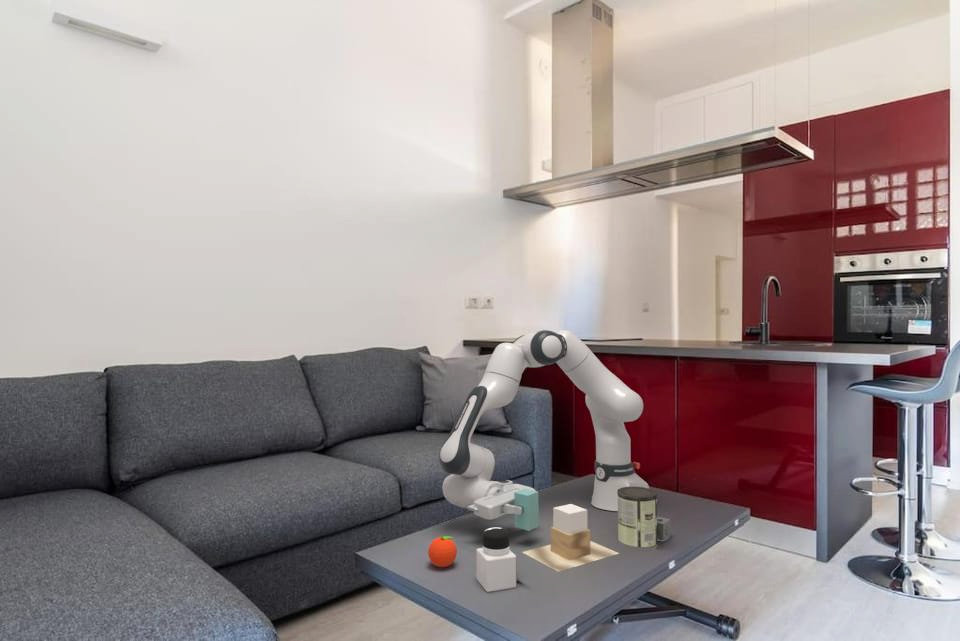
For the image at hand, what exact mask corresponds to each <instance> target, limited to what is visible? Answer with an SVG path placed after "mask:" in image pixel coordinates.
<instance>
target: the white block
mask: <svg viewBox="0 0 960 641" xmlns="http://www.w3.org/2000/svg"><path fill="white" fill-rule="evenodd" d="M552 509H553V510H552V511H553V512H552V513H553V515H552V518H553V520H552V521H553V522H552V527H553V528H556V529H558V530H560V531H562V532H564V533H567V534H569V535H570V534H574V533H578V532H582V531H585V530H587V529H588V509H587V508H583V507H581V506H578V505H575V504H573V503H569V504H565V505H559V506H555V507H553V508H552Z"/></svg>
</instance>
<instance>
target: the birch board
mask: <svg viewBox="0 0 960 641" xmlns="http://www.w3.org/2000/svg"><path fill="white" fill-rule="evenodd" d="M521 553H522V554H524V555H526V556H528V557H530V558H532V559H533V560H535V561H537V562H539V563H541V564H543V565H544V566H546V567H548V568H550V569H552V570H554V571H556V572H558V573H560V572H562V571H566V570H570V569H572V568H573V569H574V568H576V567H579V566H582V565H586V564H589V563H593V562H595V561H600V560H602V559H606V558H609V557H613V556H615V555H619V554H620V553H619V552H617V551H616V550H615V551H614V550H613V549H610V548H607V547H605V546H604V545H601V544H600V543H596V542H595V541H592V540H590V555H586V556H583V557H580V558H576V559H573V560H567V559H565V558H563V557H561V556H559V555H557V554H555V553H553V552H551V544H547V545H543V546H540V547H536V548H532V549H529V550H524V551H521Z"/></svg>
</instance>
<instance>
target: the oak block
mask: <svg viewBox="0 0 960 641" xmlns="http://www.w3.org/2000/svg"><path fill="white" fill-rule="evenodd" d="M590 541H591V530H590V529H589V528H587V530H585V531H582V532H578V533H574V534H570V535H569V534H567V533H564V532H562V531H560V530H558V529H556V528H553V526H551V527H550V545H551V552H553V553H555V554H557V555H559V556H561V557H563V558H565V559H567V560H573V559H576V558H580V557H583V556H586V555H590Z"/></svg>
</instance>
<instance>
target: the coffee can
mask: <svg viewBox="0 0 960 641" xmlns="http://www.w3.org/2000/svg"><path fill="white" fill-rule="evenodd" d="M617 494H618V511H617V526H618V527H617V528H618V530H617V533H618V537H617V538H618V541H619V542H620V543H622V544H624V545H628V546H630V547H637V548H652V549H654V548H655V547H656V546H657V545H658V541H657V517H658V511H657V510H658V506H657V504H658V503H657V501H658V499H657V498H658V492H657V491H655V490H654V489H652V488H650V487H649V488H644V487H623V488H620V489H618V490H617ZM657 547H658V546H657Z"/></svg>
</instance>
